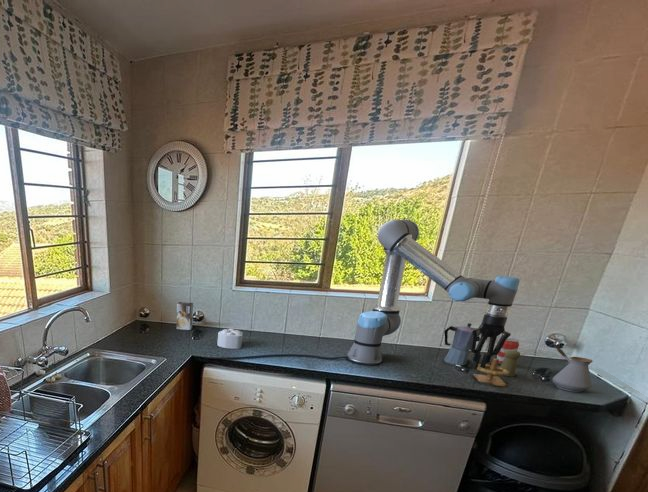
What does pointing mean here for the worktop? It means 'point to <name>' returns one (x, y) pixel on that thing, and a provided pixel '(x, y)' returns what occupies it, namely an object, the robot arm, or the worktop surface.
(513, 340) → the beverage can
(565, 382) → the coffee pot
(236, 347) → the lumpy-topped squat cylinder
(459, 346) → the moka pot
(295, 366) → the worktop surface
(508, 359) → the cork
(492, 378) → the wooden peg stand
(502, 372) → the ring
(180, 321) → the coffee box
